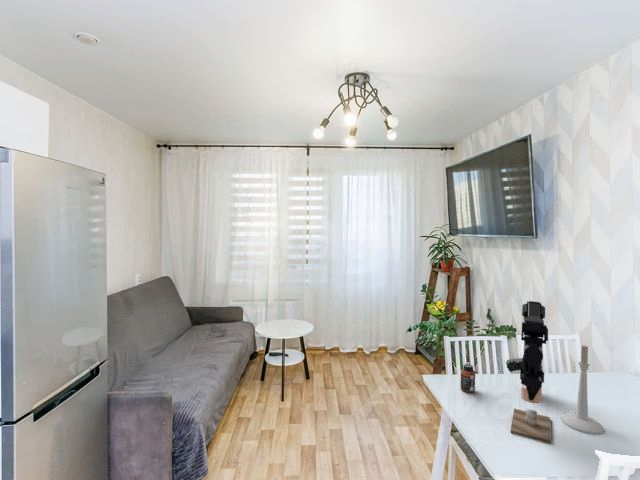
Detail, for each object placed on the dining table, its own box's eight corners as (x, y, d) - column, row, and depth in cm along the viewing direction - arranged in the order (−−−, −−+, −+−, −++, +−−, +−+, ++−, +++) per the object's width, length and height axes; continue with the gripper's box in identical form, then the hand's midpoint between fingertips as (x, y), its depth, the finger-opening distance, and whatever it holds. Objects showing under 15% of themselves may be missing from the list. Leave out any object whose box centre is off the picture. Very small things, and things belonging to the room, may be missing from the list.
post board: (514, 410, 142) (514, 397, 142) (549, 419, 136) (550, 405, 136) (510, 432, 127) (510, 417, 127) (550, 443, 121) (551, 427, 121)
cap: (522, 393, 136) (522, 382, 136) (541, 398, 132) (541, 386, 132) (521, 400, 130) (521, 388, 130) (541, 405, 127) (541, 392, 127)
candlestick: (568, 430, 129) (572, 348, 128) (555, 413, 141) (558, 338, 140) (610, 436, 125) (614, 352, 124) (593, 418, 138) (596, 341, 137)
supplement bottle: (476, 393, 157) (476, 368, 156) (461, 392, 158) (462, 367, 157) (473, 387, 163) (473, 363, 162) (459, 386, 164) (459, 362, 163)
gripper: (510, 343, 143) (508, 382, 144) (505, 357, 127) (504, 400, 128) (542, 349, 137) (541, 389, 138) (542, 364, 121) (540, 409, 122)
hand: (531, 396), depth 131 cm, fingers closed on cap, 6 cm apart
